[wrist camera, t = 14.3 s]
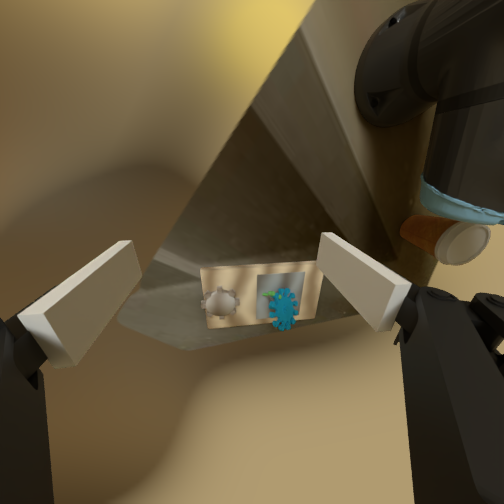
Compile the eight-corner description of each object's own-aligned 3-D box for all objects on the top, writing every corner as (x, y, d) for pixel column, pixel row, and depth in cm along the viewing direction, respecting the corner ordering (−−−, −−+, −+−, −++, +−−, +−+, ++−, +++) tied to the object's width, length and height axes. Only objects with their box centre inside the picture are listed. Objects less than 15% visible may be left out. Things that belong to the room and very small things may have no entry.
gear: (305, 308, 48) (288, 341, 42) (287, 306, 53) (269, 335, 47) (285, 275, 45) (264, 306, 39) (268, 276, 49) (246, 304, 44)
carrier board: (322, 260, 47) (328, 266, 44) (312, 314, 55) (316, 322, 52) (198, 267, 43) (196, 274, 40) (206, 324, 51) (205, 333, 48)
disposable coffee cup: (437, 216, 46) (503, 232, 35) (411, 249, 49) (463, 273, 38) (411, 201, 43) (473, 213, 32) (385, 237, 46) (434, 259, 36)
